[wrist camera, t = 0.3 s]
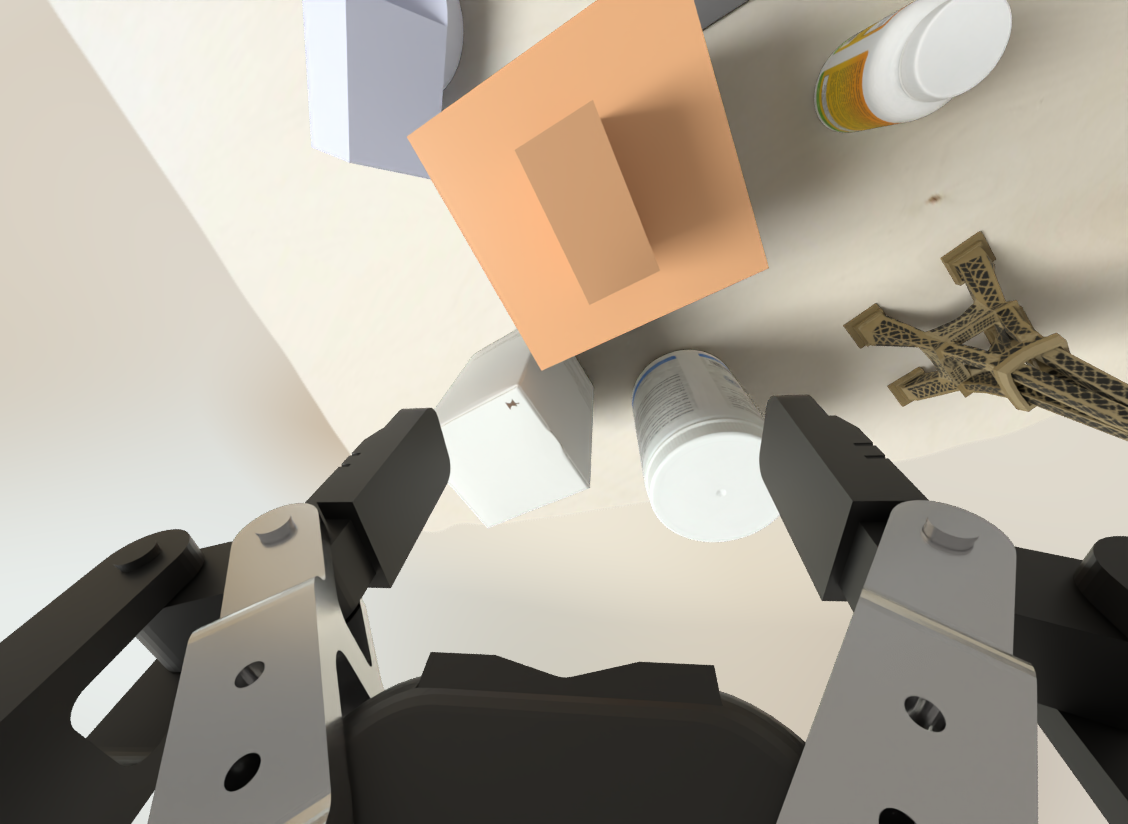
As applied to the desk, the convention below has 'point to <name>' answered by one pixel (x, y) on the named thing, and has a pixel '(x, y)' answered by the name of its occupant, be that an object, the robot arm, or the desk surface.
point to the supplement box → (517, 431)
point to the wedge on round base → (378, 75)
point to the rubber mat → (715, 10)
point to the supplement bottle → (911, 63)
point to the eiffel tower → (997, 353)
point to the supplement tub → (700, 448)
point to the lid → (598, 177)
